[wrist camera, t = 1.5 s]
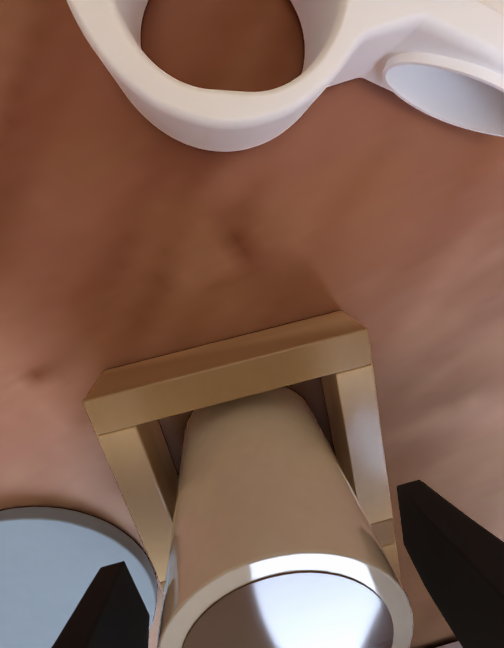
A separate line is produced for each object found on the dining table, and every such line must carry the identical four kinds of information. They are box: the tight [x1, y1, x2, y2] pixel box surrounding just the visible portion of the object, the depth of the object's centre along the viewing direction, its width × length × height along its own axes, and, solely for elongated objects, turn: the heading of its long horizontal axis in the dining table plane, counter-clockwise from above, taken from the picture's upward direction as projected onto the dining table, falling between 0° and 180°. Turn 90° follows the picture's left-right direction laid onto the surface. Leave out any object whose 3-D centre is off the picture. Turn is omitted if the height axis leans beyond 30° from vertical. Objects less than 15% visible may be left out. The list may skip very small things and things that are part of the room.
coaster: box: [0, 507, 157, 648], centre depth 14 cm, size 9×9×1 cm
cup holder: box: [83, 311, 410, 648], centre depth 14 cm, size 16×9×2 cm, turn 13°
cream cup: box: [157, 387, 413, 648], centre depth 10 cm, size 5×5×7 cm
